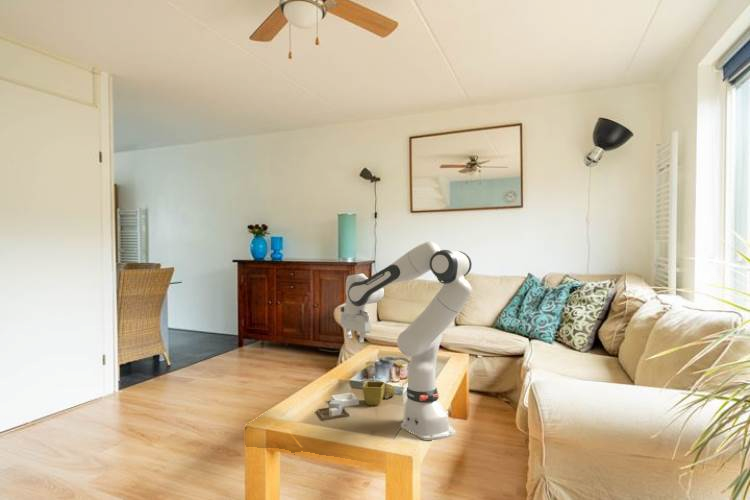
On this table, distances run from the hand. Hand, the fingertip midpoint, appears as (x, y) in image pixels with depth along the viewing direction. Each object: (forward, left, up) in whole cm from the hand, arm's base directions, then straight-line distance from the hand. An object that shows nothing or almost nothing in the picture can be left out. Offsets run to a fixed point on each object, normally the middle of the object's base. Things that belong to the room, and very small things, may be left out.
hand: (355, 340), depth 179 cm
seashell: (+7, -18, -30) cm, 36 cm away
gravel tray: (-4, +12, -30) cm, 32 cm away
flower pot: (+1, -9, -30) cm, 31 cm away
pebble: (-3, +10, -29) cm, 31 cm away
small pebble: (-7, +12, -29) cm, 33 cm away
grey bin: (+7, +3, -30) cm, 31 cm away
